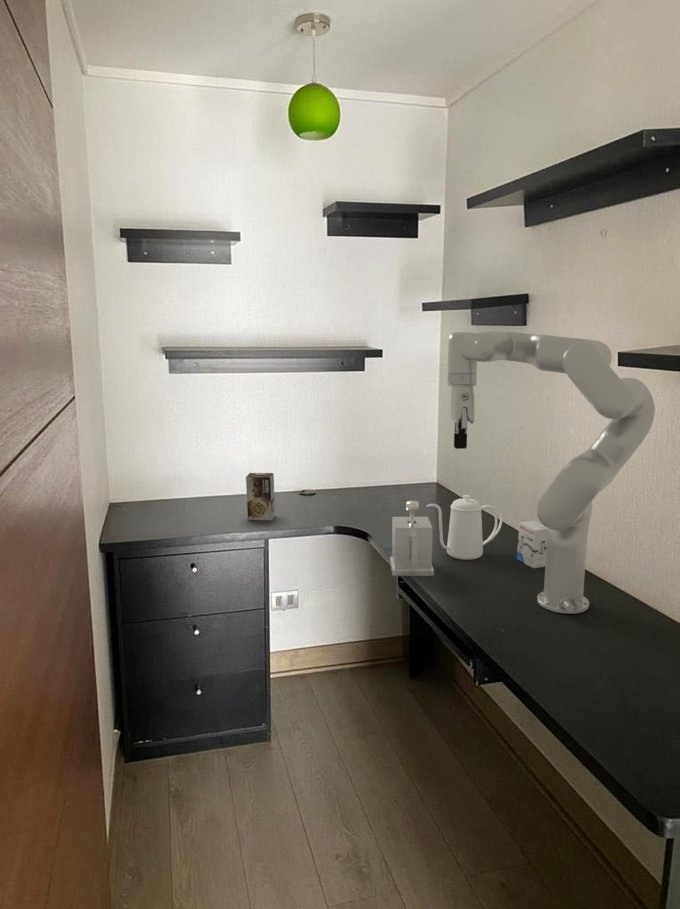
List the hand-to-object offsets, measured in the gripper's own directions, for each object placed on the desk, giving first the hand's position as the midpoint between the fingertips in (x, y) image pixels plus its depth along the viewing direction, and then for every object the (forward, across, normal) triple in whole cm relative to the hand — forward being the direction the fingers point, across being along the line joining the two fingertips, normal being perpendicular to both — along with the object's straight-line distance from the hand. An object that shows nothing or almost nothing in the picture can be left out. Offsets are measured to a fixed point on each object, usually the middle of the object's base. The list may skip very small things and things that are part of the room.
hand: (460, 447), depth 185 cm
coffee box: (+37, +57, +61) cm, 91 cm away
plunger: (+35, +7, +12) cm, 38 cm away
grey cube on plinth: (+37, +6, +12) cm, 39 cm away
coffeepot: (+37, +18, -5) cm, 42 cm away
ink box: (+37, +11, -24) cm, 46 cm away
